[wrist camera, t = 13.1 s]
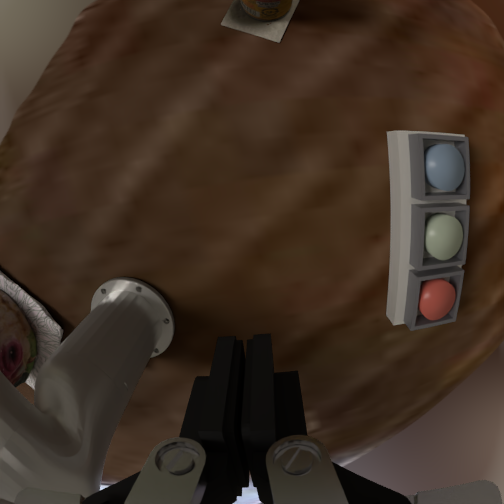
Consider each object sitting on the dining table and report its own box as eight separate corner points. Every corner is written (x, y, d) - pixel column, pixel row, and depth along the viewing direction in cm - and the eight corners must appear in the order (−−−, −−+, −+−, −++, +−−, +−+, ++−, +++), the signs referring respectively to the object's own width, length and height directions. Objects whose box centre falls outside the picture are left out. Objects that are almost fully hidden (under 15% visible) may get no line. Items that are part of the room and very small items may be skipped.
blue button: (455, 188, 30) (464, 190, 28) (421, 189, 30) (429, 191, 28) (454, 145, 28) (463, 145, 26) (418, 143, 29) (427, 142, 27)
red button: (444, 309, 35) (451, 316, 33) (412, 315, 35) (419, 323, 33) (450, 273, 33) (458, 279, 31) (417, 278, 33) (424, 285, 32)
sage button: (452, 252, 32) (461, 257, 30) (419, 256, 33) (426, 262, 31) (455, 211, 31) (464, 215, 29) (421, 213, 31) (429, 217, 29)
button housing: (444, 304, 38) (462, 321, 33) (386, 314, 39) (400, 335, 34) (451, 135, 31) (476, 134, 26) (386, 132, 32) (406, 129, 27)
